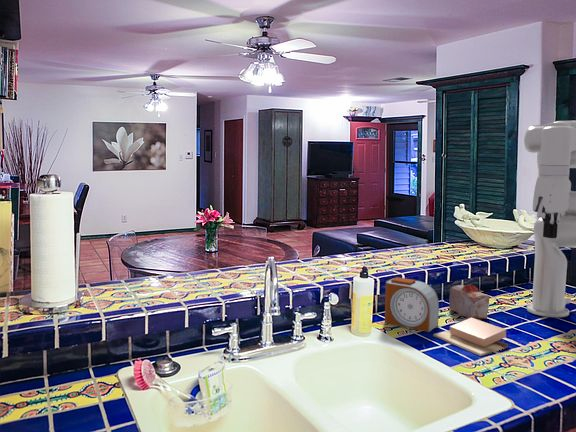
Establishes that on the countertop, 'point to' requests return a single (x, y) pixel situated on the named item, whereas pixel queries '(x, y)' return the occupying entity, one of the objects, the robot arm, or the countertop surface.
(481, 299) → the food item
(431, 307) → the alarm clock
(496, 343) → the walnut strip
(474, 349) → the tan flat rectangular panel
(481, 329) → the tile
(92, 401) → the countertop surface
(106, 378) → the countertop surface
